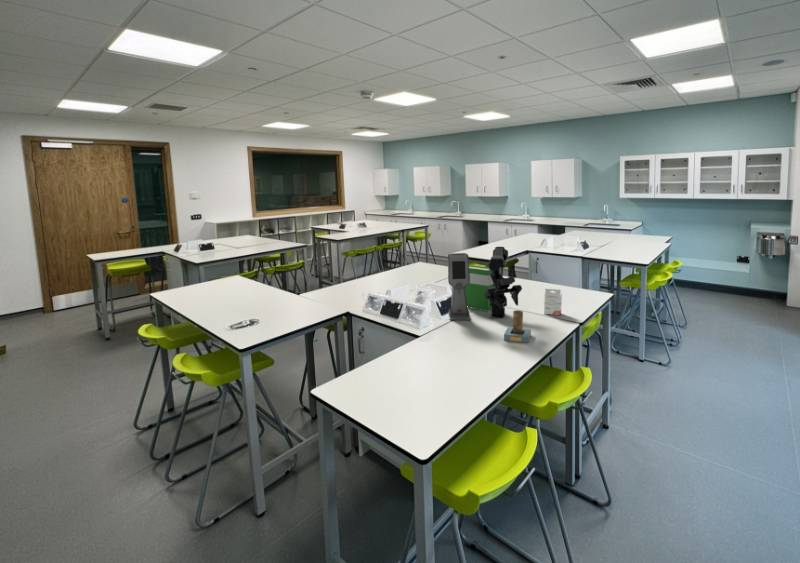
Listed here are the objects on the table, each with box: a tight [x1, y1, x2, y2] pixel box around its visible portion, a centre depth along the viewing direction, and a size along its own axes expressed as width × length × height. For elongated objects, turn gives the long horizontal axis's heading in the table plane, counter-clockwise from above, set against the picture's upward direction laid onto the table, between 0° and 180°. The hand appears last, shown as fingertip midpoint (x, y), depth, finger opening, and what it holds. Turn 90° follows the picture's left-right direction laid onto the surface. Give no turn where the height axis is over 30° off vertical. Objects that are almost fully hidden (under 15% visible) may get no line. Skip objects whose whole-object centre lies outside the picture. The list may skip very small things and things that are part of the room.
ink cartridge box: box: [543, 288, 563, 316], centre depth 238 cm, size 9×5×15 cm, turn 62°
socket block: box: [503, 326, 532, 344], centre depth 206 cm, size 11×11×3 cm
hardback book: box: [466, 264, 495, 312], centre depth 255 cm, size 18×7×24 cm, turn 47°
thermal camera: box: [447, 252, 471, 321], centre depth 237 cm, size 12×13×35 cm
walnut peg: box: [512, 309, 524, 335], centre depth 205 cm, size 4×4×13 cm
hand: (509, 306), depth 211 cm, fingers open, 9 cm apart
